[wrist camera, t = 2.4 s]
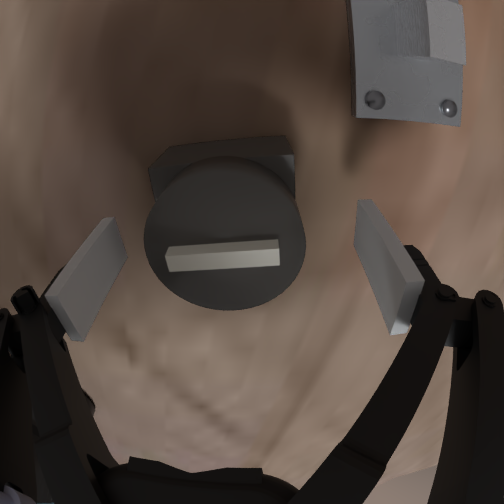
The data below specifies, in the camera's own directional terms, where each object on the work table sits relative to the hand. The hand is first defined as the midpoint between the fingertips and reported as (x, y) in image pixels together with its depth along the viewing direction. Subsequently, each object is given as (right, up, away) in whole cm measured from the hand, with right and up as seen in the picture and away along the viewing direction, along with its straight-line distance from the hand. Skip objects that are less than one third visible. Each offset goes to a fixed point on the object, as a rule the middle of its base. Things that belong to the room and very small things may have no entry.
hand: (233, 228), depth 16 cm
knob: (0, +3, +4) cm, 5 cm away
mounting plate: (+11, +13, -2) cm, 17 cm away
